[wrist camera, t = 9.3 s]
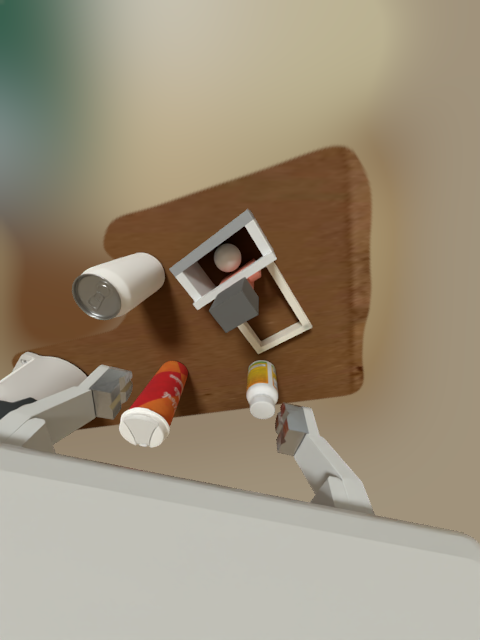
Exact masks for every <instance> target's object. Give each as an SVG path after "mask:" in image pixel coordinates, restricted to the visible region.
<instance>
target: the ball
mask: <svg viewBox="0 0 480 640" xmlns="http://www.w3.org/2000/svg"><path fill="white" fill-rule="evenodd" d="M214 262H215V264H216V266H217V267H218V268H219V269H220V270H221V271H224V272H232V271H234V270H236V269H237V268H238V267H239V265H240V263H241V253H240V251H239V249H238V248H237V247H236V246H235V245H233V244H228V243H226V244H222V245H220V246H219V247H218V248H217V249H216V251H215V253H214Z"/></svg>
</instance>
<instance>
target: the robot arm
mask: <svg viewBox="0 0 480 640" xmlns="http://www.w3.org/2000/svg"><path fill="white" fill-rule="evenodd" d="M131 378H132V372H131V371H128V370H123V369H119V368H115V367H110V366H105V365H101V366H99V367H98V368H96V369H95V370H94V371H93V372H92V373H91V374H90V375H89V376H88V377H87V376H86V375H85V374H84V373H83V372H82V371H81V370H80V369H79V368H77V367H76V366H74V365H73V364H71V363H69V362H67V361H65V360H62V359H59V358H55V357H47V356H40V355H37V354H34V353H31V352H26V353H24V354H23V355H22V356H21V357H20V359H19V361H18V362H17V364H16V366H15V368H14V369H13V371H12V373H11V374H9V375H8V376H6V377H5V378H3V379H2V380H0V640H480V543H479V542H477V541H476V540H475V539H474V538H472V537H471V536H469V535H467V534H464V533H462V532H458V531H454V530H449V529H444V528H438V527H433V526H428V525H423V524H418V523H413V522H407V521H402V520H397V519H392V518H386V517H381V516H376V515H375V514H374V511H373V509H372V506H371V504H370V501H369V499H368V496H367V494H366V491H365V489H364V486H363V484H362V482H361V480H360V479H359V478H358V477H357V476H356V475H355V473H354V472H353V471H352V470H351V469H350V468H349V467H348V465H347V464H346V463H345V462H344V461H343V460H342V458H341V457H340V456H339V455H338V454H337V453H336V452H335V450H334V449H333V448H332V447H331V446H330V445H329V444H328V442H327V441H326V440H325V439H324V438H323V437H321V436H320V435H319V431H318V428H317V425H316V421H315V418H314V414H313V411H312V409H311V408H308V407H303V406H298V405H293V404H288V403H283V404H282V405H281V412H279V413H278V415H277V418H276V423H275V424H276V425H275V429H276V433H277V434H278V437H277V450H278V453H282V454H287V455H291V456H294V458H295V460H296V462H297V463H298V465H299V467H300V469H301V470H302V472H303V474H304V475H305V477H306V479H307V481H308V482H309V484H310V486H311V488H312V489H313V491H314V493H315V494H316V495H315V496H314V498H313V499H312V501H311V502H310V503H309V502H303V501H299V500H293V499H288V498H283V497H278V496H273V495H268V494H262V493H257V492H252V491H246V490H242V489H237V488H231V487H226V486H220V485H216V484H210V483H206V482H200V481H195V480H190V479H185V478H179V477H174V476H169V475H164V474H159V473H154V472H148V471H143V470H138V469H133V468H128V467H123V466H117V465H112V464H107V463H102V462H96V461H92V460H86V459H81V458H76V457H71V456H66V455H61V454H56V453H55V450H54V447H53V445H54V444H55V443H57V442H58V441H60V440H61V439H63V438H64V437H66V436H68V435H69V434H71V433H72V432H74V431H76V430H77V429H79V428H80V427H82V426H83V425H85V424H86V423H88V422H90V421H91V420H93V419H94V418H96V417H101V418H107V419H114V418H115V417H116V415H117V414H118V412H119V411H120V409H121V404H122V403H124V402H126V401H127V399H128V398H129V396H130V394H131V392H132V387H133V384H132V382H131V381H130V379H131Z"/></svg>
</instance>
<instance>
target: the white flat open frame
mask: <svg viewBox="0 0 480 640" xmlns="http://www.w3.org/2000/svg"><path fill="white" fill-rule="evenodd" d="M266 267H267V269H268V270H269V272H270V274H271V275H272V277H273V279H274V280H275V282H276V283H277V285H278V287H279V288H280V290H281V292H282V293H283V295H284V296H285V298H286V300H287V301H288V303H289V305H290V306H291V308H292V309H293V311H294V313H295V314H296V316H297V317H298V319H299V322H297V323H295V324H293V325H292V326H290V327H288V328H286V329H284V330H282V331H280V332H278V333H276V334H274V335H272V336H270V337H268V338H266V339H264V340H262V341H260V339H259V338H258V336H257V335H256V334H255V332H254V331H253V330H252V328H251V327H250V325H249V324H248V323H247V321H246V322H245V323H243V324H241V325H239V326H237V327H238V328H239V329H240V331H241V332H242V333H243V335H244V336H245V337H246V339H247V340H248V341H249V343H250V344H251V345H252V347H253V348H254V349H255V351H256V352H257V353H258V354H260V353H262V352H264V351H266V350H268V349H270V348H272V347H274V346H276V345H278V344H280V343H282V342H284V341H286V340H288V339H290V338H292V337H294V336H296V335H298V334H300V333H302V332H304V331H306V330H308V329H310V328H312V325H311V323H310V321H309V319H308V318H307V316H306V314H305V313H304V311H303V309H302V308H301V306H300V304H299V303H298V301H297V299H296V298H295V296H294V294H293V293H292V291H291V289H290V288H289V286H288V284H287V283H286V281H285V279H284V278H283V276H282V274H281V273H280V271H279V269H278V268H277V266H276V264H275V263H274V261H273V262H272V263H270V264H269V265H267V266H266Z"/></svg>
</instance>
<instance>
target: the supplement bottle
mask: <svg viewBox="0 0 480 640" xmlns="http://www.w3.org/2000/svg"><path fill="white" fill-rule="evenodd" d="M247 400H248V402H249V404H250V412H251V414H252V415H253V416H254V417H256V418H258V419H267V418H270V417H272V416H273V415H274V413H275V404H276V403H277V401H278V389H277V379H276V370H275V367H274V366H273V364H272V363H270V362H268V361H265V360H258V361H255V362H253V363H252V364H251V365H250V366H249V369H248V381H247Z"/></svg>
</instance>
